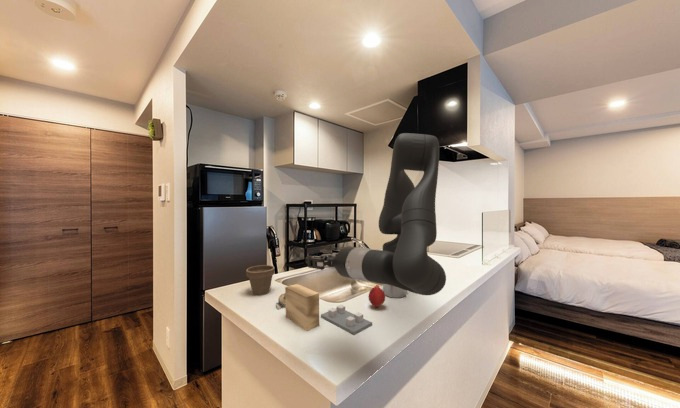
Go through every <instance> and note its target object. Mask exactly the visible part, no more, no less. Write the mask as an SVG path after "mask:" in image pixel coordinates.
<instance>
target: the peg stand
mask: <svg viewBox="0 0 680 408" xmlns="http://www.w3.org/2000/svg"><path fill="white" fill-rule="evenodd" d="M320 318H321V319H323V320H325V321H327V322H329V323H331V324H333V325H335V326H336V327H338V328H340V329H342V330H344V331H346V332H348V333H349V334H351V335H356V334H359V333H360V332H362V331H364V330H366V329H367V328H369V327H371V326H373V322H372V321H370V320H368V319H366V318H364V314H363V313H361V312H358V311H357V312H356V313H352V312H350V311H348V310H346V306H345V305H342V304H340V305H336V308H334V307H332V308H330V309H328V311H327V312H324V313H321V314H320Z"/></svg>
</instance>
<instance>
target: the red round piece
mask: <svg viewBox="0 0 680 408" xmlns="http://www.w3.org/2000/svg"><path fill="white" fill-rule="evenodd" d="M367 298H368V301H369V303H370V304H371V305H372V306H373V307H375V308H380V306H381V305H383V304H384V303H385V301H386V295H385V294H384V292H383V288H381V287H380V285H379V284H376V285H375V286H374V287H372V288H371V289H370V290H369V292H368V297H367Z"/></svg>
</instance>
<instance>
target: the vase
mask: <svg viewBox="0 0 680 408" xmlns="http://www.w3.org/2000/svg"><path fill="white" fill-rule="evenodd" d="M277 300H278V301H277V302H275V304H276V309H277V310H281V309H282V306H283V305H286V300H285V293H281V294H280V295H279V296H278V299H277Z"/></svg>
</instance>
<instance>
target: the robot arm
mask: <svg viewBox="0 0 680 408" xmlns="http://www.w3.org/2000/svg"><path fill="white" fill-rule="evenodd" d="M390 162H391V163H390V171H389V172H390V173H389V176H388V181H387V185H386V189H385V193H384V200H383V206H382V209H381V212H380V214H379V217H378V229H379V232H380V233H381V234H383V235H396V237H394V238H393V239H391V240H390V241H387V242H384V243H383V245H382V250H381V249H372V248H368V247H359V246H345V247H342V248H341V249H339V251H338V252H331V253H328V254H327V253H326V254H325V253H324V254H321V255H319V256H318V255H306V257H305V263H306V264H307V267H308V268H311V269H316V270H320V271H323V270H325V269H331V270H336V272H337V273H338V274H339V275H340V276H341V277H342V278H343V277H344V278H347V279H352V280H357V281H361V282H371V283H376V284H381V285H382V290H383V292H384V294H385V297H388V298H394V299H396V298H397V299H398V298H399V299H400V298H404V297H406V296H407V293H408V292H410V293H413V294H417V295H421V296H432V295H436V294H438V293H440V292H441V291H442V290H443V289H444V287H445V286H446V281H447V275H446V272H445V269H444V268H443V267H442V265H441V264H440V263H439V262H438V261H437V260H435V259H433V258H432V257H430V255H428V247H430V246H432V245H434V243H435V242H436V239H437V233H438V232H437V231H438V229H437V214H436V198H437V197H436V194H437V188H438V187H437V186H438V177H439V163H440V142H439V139H438V138H437V136H435V135H432V134H424V133H413V132H412V133H409V132H403V133H399V134H398V136H397V137H396V138H395V141H394V144H393V147H392V154H391V161H390ZM405 170H406V171H417V172H423V176H422V178H421V179H420V180H419V182H418V183H417V185H416V186H415V185H414V183H413V180H412V179H411V178H410V177H409V175H408V174H407V173H406V171H405ZM325 258H326V260H325Z"/></svg>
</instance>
